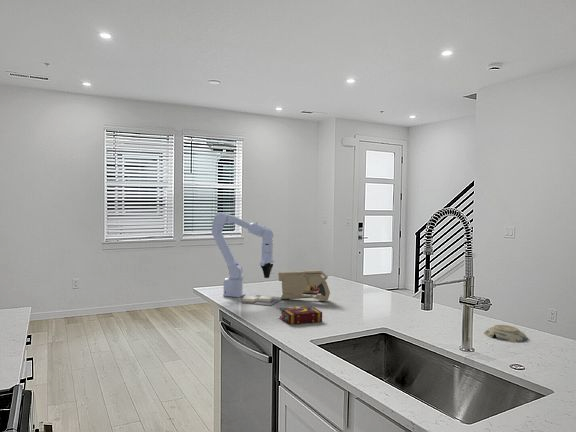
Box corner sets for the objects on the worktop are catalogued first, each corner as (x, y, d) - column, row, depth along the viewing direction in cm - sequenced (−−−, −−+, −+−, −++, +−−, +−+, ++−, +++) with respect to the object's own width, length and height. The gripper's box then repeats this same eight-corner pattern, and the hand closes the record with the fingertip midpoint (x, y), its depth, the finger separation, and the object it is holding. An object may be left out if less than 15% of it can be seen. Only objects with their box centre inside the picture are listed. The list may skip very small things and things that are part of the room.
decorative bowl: (531, 336, 170) (490, 328, 180) (532, 327, 170) (490, 319, 180) (522, 346, 159) (479, 337, 168) (523, 336, 159) (479, 327, 168)
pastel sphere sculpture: (328, 295, 239) (328, 277, 238) (284, 294, 239) (284, 277, 238) (324, 286, 264) (324, 270, 263) (284, 285, 264) (285, 269, 263)
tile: (261, 298, 223) (258, 301, 217) (261, 295, 223) (258, 298, 217) (273, 299, 222) (269, 302, 216) (273, 296, 222) (269, 299, 216)
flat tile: (253, 302, 215) (253, 299, 215) (242, 301, 217) (242, 298, 217) (258, 300, 220) (258, 296, 220) (247, 299, 222) (247, 295, 222)
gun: (330, 300, 224) (328, 269, 223) (330, 301, 221) (328, 270, 220) (280, 301, 226) (279, 271, 226) (279, 303, 223) (278, 272, 223)
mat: (242, 303, 215) (242, 302, 215) (257, 295, 232) (257, 294, 232) (270, 306, 210) (270, 305, 210) (284, 298, 227) (284, 297, 227)
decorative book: (322, 322, 184) (322, 310, 184) (286, 325, 179) (286, 313, 178) (312, 315, 195) (312, 304, 195) (277, 318, 189) (277, 307, 189)
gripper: (269, 253, 223) (268, 280, 224) (279, 250, 237) (278, 276, 238) (256, 253, 226) (255, 279, 226) (267, 250, 239) (266, 275, 240)
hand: (266, 277), depth 232 cm, fingers closed
